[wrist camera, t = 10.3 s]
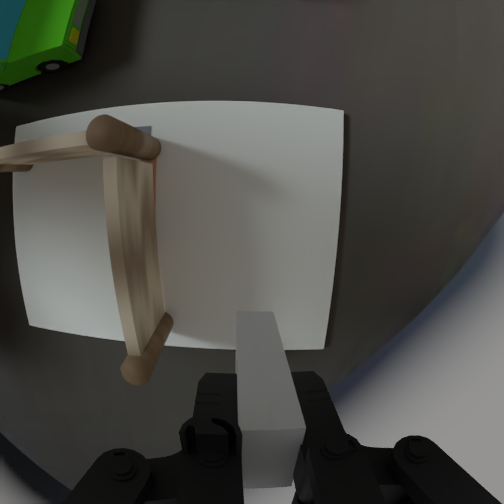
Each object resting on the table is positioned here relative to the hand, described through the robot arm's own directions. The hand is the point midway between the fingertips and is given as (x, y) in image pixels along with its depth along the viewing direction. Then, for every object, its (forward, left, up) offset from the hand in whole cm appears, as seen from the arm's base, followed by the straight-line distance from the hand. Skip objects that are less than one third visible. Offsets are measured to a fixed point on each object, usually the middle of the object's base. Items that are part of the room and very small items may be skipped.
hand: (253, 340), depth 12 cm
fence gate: (-7, +1, -10) cm, 12 cm away
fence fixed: (-13, +9, -11) cm, 19 cm away
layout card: (-7, +3, -11) cm, 13 cm away
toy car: (-21, +21, -11) cm, 31 cm away
